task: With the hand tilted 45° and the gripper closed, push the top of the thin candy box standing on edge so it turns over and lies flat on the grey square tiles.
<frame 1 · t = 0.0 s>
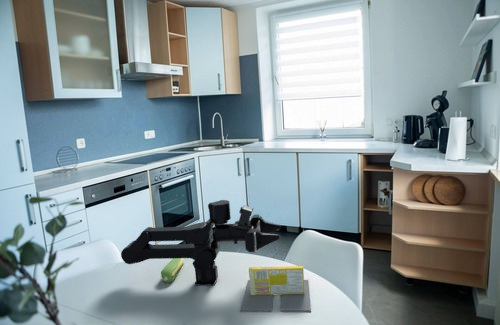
hand: (280, 231, 117), 17 cm above the table, tool horizontal, fingers open, 9 cm apart
edible corn: (175, 272, 131), on the table
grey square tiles: (277, 295, 110), on the table
candy box: (277, 294, 111), on the table, touching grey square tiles
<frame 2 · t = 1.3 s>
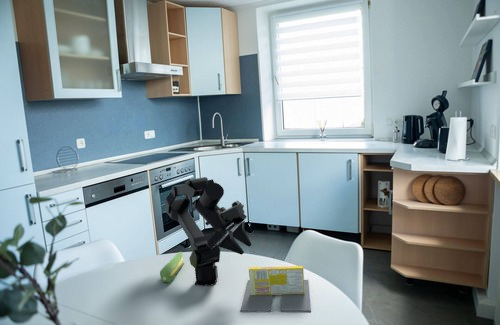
hand: (247, 249, 112), 14 cm above the table, tool tilted 45°, fingers open, 6 cm apart
nothing on the table moved.
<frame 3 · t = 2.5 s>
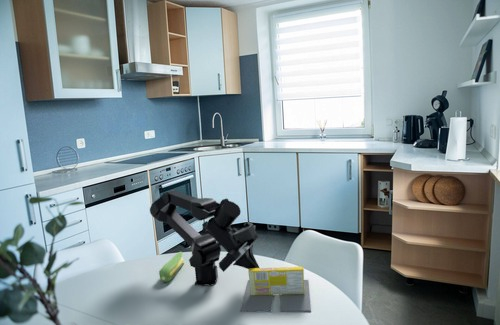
hand: (259, 271, 111), 7 cm above the table, tool tilted 45°, fingers closed
candy box: (277, 293, 111), on the table, touching gripper, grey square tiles
everything else where it was.
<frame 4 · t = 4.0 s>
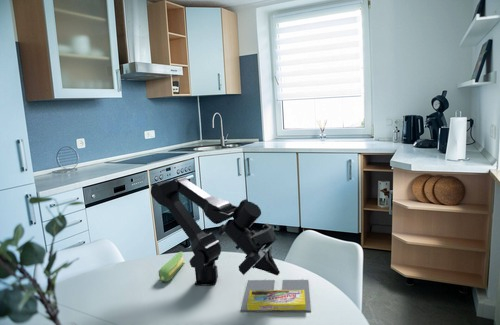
hand: (278, 274, 109), 7 cm above the table, tool tilted 45°, fingers closed
candy box: (277, 291, 109), point 2 cm above the table, touching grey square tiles
everything else where it was.
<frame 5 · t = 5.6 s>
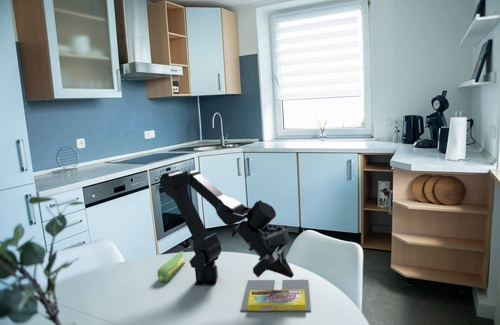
hand: (292, 276, 107), 7 cm above the table, tool tilted 45°, fingers closed
nothing on the table moved.
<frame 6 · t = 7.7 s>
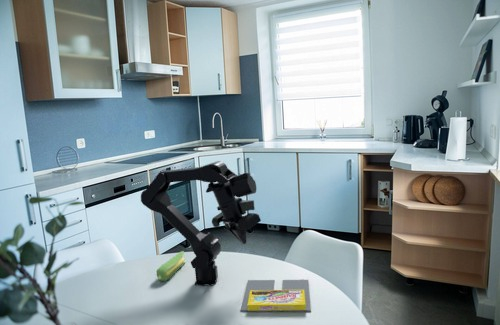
hand: (244, 243, 119), 13 cm above the table, tool tilted 20°, fingers closed
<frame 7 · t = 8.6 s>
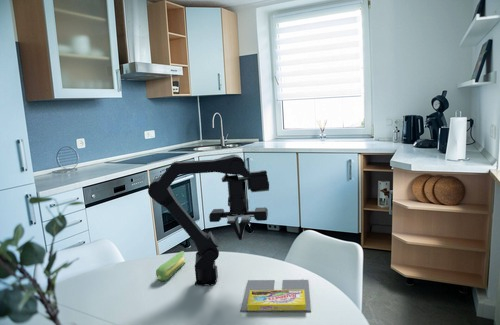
hand: (240, 239, 122), 13 cm above the table, tool pointing down, fingers closed
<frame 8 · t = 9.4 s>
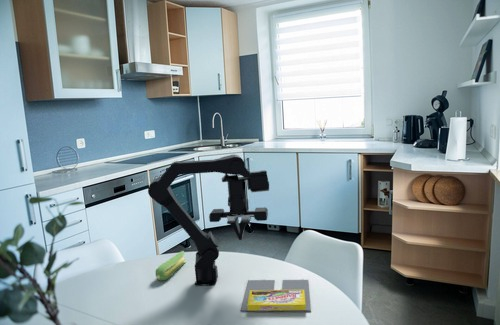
hand: (240, 239, 122), 13 cm above the table, tool pointing down, fingers closed
at the end: candy box tilted 93°; candy box inside the target area (2.9 cm from its centre), point 1.6 cm above the table; candy box touching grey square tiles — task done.
